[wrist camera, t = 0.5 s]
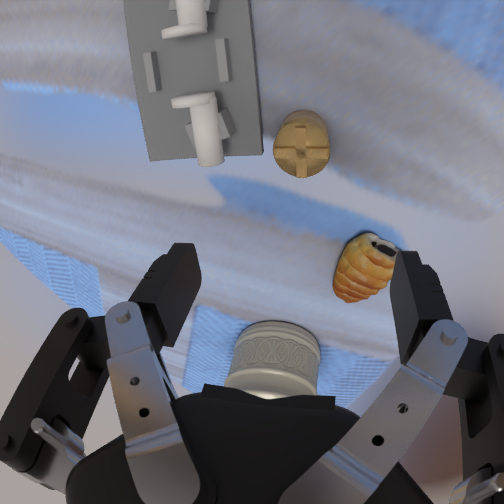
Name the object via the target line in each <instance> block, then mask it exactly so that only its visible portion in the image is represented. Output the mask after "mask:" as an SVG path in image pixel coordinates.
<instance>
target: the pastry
mask: <svg viewBox="0 0 504 504" xmlns="http://www.w3.org/2000/svg"><path fill="white" fill-rule="evenodd" d="M398 251H400V250H399V249H398V248H396V247H395V245H394V244H393V243H391V242H388V241H386V240H381V239H380V238H379V237H378V236H376V235H375V234H372V233H364V234H362V235H360V236H358V237H356V238H354V239H353V240H351V241H350V242H349V243H348V244H347V246H346V247H345V249H344V251H343V254H342V256H341V258H340V260H339V262H338V265H337V269H336V272H335V275H334V278H333V290H334V293H335V294H336V296H337V297H339V298H341V299H343V300H344V301H345V302H346V303H352V302H358V301H360V300H363V299H368V298H369V297H370V295H375V294H377V293H378V291H379V290H380V289H383V288H385V287H386V286H387V283H388V281H389V280H391V278H392V274H393V269H394V265H395V260H396V255H397V252H398Z"/></svg>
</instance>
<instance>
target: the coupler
mask: <svg viewBox="0 0 504 504" xmlns="http://www.w3.org/2000/svg"><path fill="white" fill-rule="evenodd" d="M273 154H274V158H275V160H276V162H277V164H278V165H279V167H281V168H282V170H284V171H285V172H287V173H288V174H290V175H293V176H296V177H297V178H307V177H309V176H313V175H315V174H317V173H319V172H320V171H321V170H322V169H323V168H324V167H325V166H326V164H327V163H328V160H329V157H330V145H329V137H328V129H327V126H326V123H325V121H324V120H323V118H322V117H321V116H319V115H318V114H317V113H315V112H313V111H310V110H297V111H294V112H292V113H291V114H289V115H288V116H287V117H286V118H285V119H284V121H283V123H282V125H281V128H280V130H279V132H278V134H277V136H276V139H275V141H274V145H273Z"/></svg>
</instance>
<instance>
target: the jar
mask: <svg viewBox="0 0 504 504" xmlns="http://www.w3.org/2000/svg"><path fill="white" fill-rule="evenodd" d="M319 365H320V350H319V345H318V342H317V341H316V339H315V338H314V337H313V335H311V334H310V333H309V332H308V331H306V330H305V329H303V328H301V327H298V326H296V325H293V324H289V323H285V322H276V321H269V322H261V323H257V324H254V325H251V326H249V327H247V328H246V329H245V330H244V331H243V332H242V333H241V334H240V336H239V338H238V339H237V341H236V344H235V347H234V355H233V359H232V362H231V366H230V369H229V373H228V376H227V378H226V380H225V383H224V387H231V388H236V389H239V390H242V391H244V392H247V393H250V394H253V395H256V396H258V397H261V398H264V399H275V398H282V397H289V396H296V395H317V380H318V367H319Z"/></svg>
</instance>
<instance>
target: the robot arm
mask: <svg viewBox="0 0 504 504" xmlns="http://www.w3.org/2000/svg"><path fill="white" fill-rule="evenodd" d="M201 278H202V277H201V270H200V266H199V262H198V258H197V253H196V249H195V246H194V244H193V243H174V244H173V246H172V247H171V249H170V250H169V252H168V253H167V254H163V255H162V256H160V257H159V258H158V259H156V260H155V261H154V262H153V264H152V265H151V267H150V268H149V270H148V272H147V273H146V274H145V276H144V279H142V280H141V282H140V283H139V285H138V286H137V288H136V289H135V291H134V292H133V294H132V296H131V297H130V299H129V300H128V301H126V302H121V303H118V304H116V305H114V306H113V307H112V308H111V309H109V311H108V312H107V314H106V316H98V317H90V318H89V316H88V314H87V312H86V311H85V310H84V309H82V308H73V309H70V310H68V311H66V312H65V313H64V314H62V315H61V317H60V318H59V319H58V321H57V323H56V324H55V326H54V327H53V329H52V330H51V332H50V334H49V335H48V336H47V338H46V340H45V341H44V343H43V345H42V346H41V348H40V350H39V351H38V353H37V354H36V356H35V358H34V359H33V361H32V363H31V365H30V366H29V368H28V370H27V371H26V373H25V375H24V377H23V378H22V380H21V382H20V384H19V386H18V388H17V390H16V391H15V393H14V395H13V397H12V399H11V401H10V403H9V405H8V406H7V409H6V410H5V412H4V415H3V416H2V418H1V420H0V461H2V462H4V463H5V464H7V465H8V466H10V467H12V469H13V470H15V471H16V472H18V473H20V474H21V475H23V476H25V477H26V478H28V479H30V480H32V481H34V482H36V483H39V484H41V485H43V486H45V487H47V488H48V489H51V490H58V491H60V492H62V493H64V494H66V502H67V504H433V502H432V501H431V500H430V499H429V498H428V496H427V495H426V494H425V493H424V492H423V491H422V489H421V488H420V487H419V486H418V485H417V483H416V482H415V481H414V480H413V478H412V477H411V476H410V475H409V474H408V472H407V471H406V470H405V469H404V468H403V466H402V465H401V464H400V463H399V462H398V460H399V459H400V458H401V456H402V455H403V453H404V452H405V451H406V450H407V448H408V447H409V445H410V444H411V442H412V441H413V440H414V438H415V437H416V435H417V434H418V432H419V431H420V429H421V428H422V426H423V425H424V423H425V422H426V420H427V418H428V417H429V415H430V414H431V412H432V411H433V409H434V407H435V406H436V404H437V402H438V401H439V399H440V397H441V396H442V394H444V395H448V396H452V397H457V398H458V402H459V412H460V423H461V436H462V454H463V455H462V456H463V481H462V482H460V483H459V484H458V485H457V486H456V487H455V488H454V490H453V492H452V493H451V496H450V500H449V504H504V334H497V335H494V336H493V337H492V338H491V339H490V341H489V343H487V342H483V341H479V340H475V339H472V338H469V337H468V336H467V333H466V331H465V329H464V328H463V327H462V326H461V325H460V324H459V323H457V322H455V321H453V318H452V315H451V312H450V309H449V306H448V303H447V300H446V297H445V294H444V293H443V289H442V286H441V285H440V281H439V278H438V275H437V273H436V272H435V271H434V270H433V269H432V268H431V267H430V266H429V265H423V264H422V263H421V260H420V257H419V255H418V252H417V251H398V252H397V255H396V260H395V265H394V269H393V274H392V278H391V284H390V299H391V304H392V309H393V315H394V321H395V327H396V333H397V340H398V347H399V354H400V361H401V364H403V365H402V367H401V368H400V369H399V370H398V372H397V373H396V374H395V376H394V377H393V378H392V380H391V381H390V382H389V384H388V385H387V386H386V388H385V389H384V390H383V391H382V393H381V394H380V395H379V397H378V398H377V399H376V400H375V401H374V402H373V404H372V405H371V406H370V407H369V408H368V410H367V411H366V412H365V413H364V414H363V415H362V417H359V416H358V415H357V414H355V413H354V412H352V411H350V410H348V409H345V408H343V407H340V406H337V405H335V396H320V395H296V396H289V397H282V398H275V399H264V398H261V397H258V396H256V395H253V394H250V393H247V392H244V391H242V390H239V389H236V388H231V387H224V386H217V385H210V384H204V387H203V390H202V392H199V393H193V394H189V395H185V396H182V397H180V398H178V396H177V394H176V392H175V390H174V387H173V385H172V382H171V379H170V377H169V374H168V371H167V369H166V366H165V363H164V361H163V358H162V355H161V353H160V351H161V349H162V346H167V347H174V344H175V342H176V340H177V338H178V335H179V333H180V331H181V329H182V326H183V324H184V322H185V320H186V317H187V315H188V313H189V311H190V309H191V306H192V304H193V302H194V300H195V298H196V295H197V293H198V291H199V289H200V286H201ZM76 358H78V359H79V360H80V362H79V364H78V365H77V367H76V370H75V371H74V373H73V375H72V377H71V379H70V381H69V379H68V374H69V371H70V369H71V367H72V365H73V363H74V361H75V359H76ZM109 376H110V381H111V386H112V390H113V395H114V399H115V404H116V408H117V412H118V416H119V420H120V424H121V428H122V431H123V434H122V435H120V436H119V437H117V438H115V439H114V440H112V441H111V442H109V443H108V444H106V445H104V446H103V447H101V448H99V449H98V450H96V451H95V452H93V453H91V454H90V455H88V456H86V455H85V453H84V443H83V441H82V438H83V436H84V434H85V431H86V429H87V426H88V424H89V421H90V419H91V417H92V414H93V412H94V409H95V407H96V405H97V402H98V400H99V398H100V396H101V393H102V391H103V389H104V386H105V384H106V382H107V380H108V378H109Z"/></svg>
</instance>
